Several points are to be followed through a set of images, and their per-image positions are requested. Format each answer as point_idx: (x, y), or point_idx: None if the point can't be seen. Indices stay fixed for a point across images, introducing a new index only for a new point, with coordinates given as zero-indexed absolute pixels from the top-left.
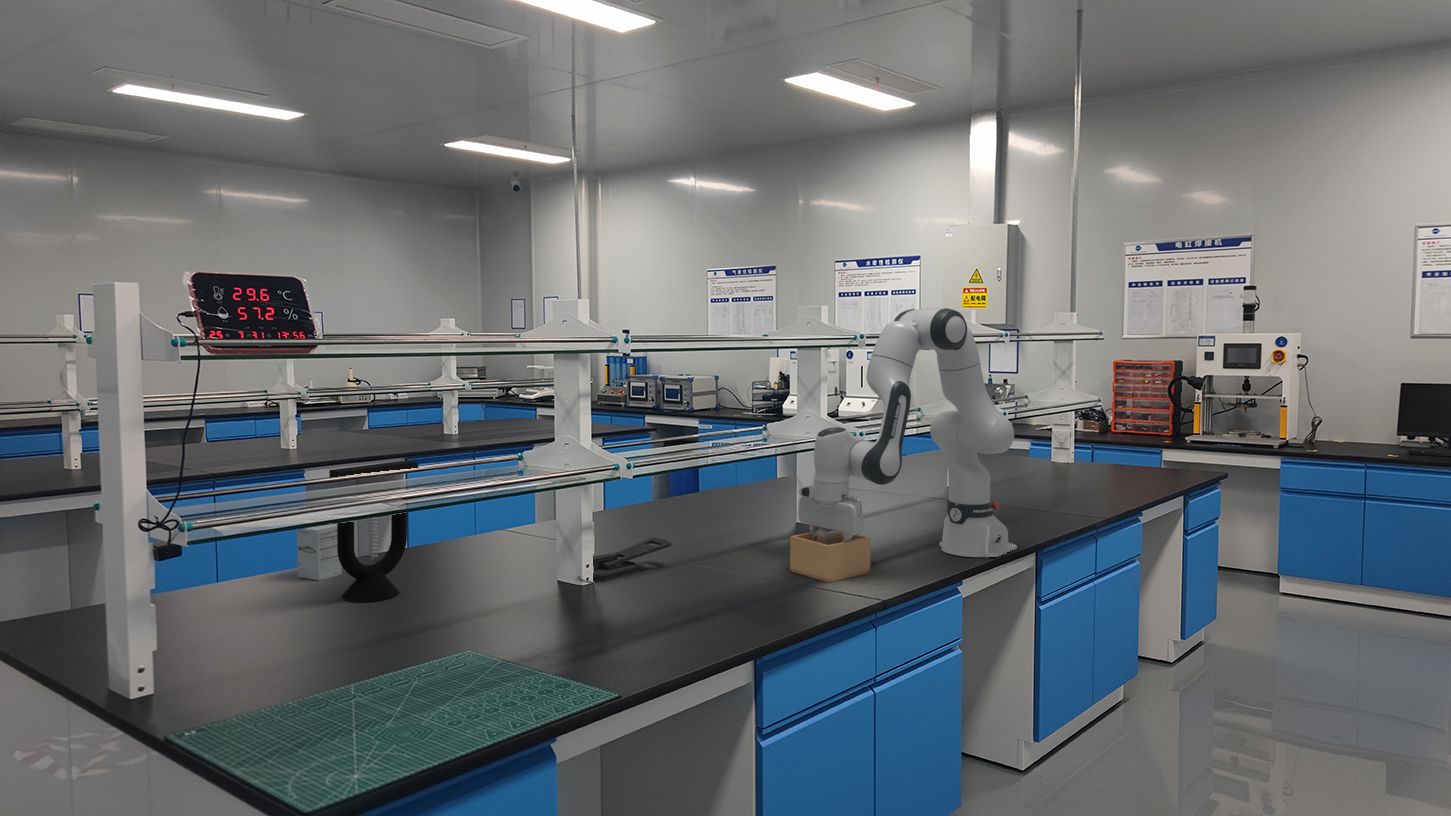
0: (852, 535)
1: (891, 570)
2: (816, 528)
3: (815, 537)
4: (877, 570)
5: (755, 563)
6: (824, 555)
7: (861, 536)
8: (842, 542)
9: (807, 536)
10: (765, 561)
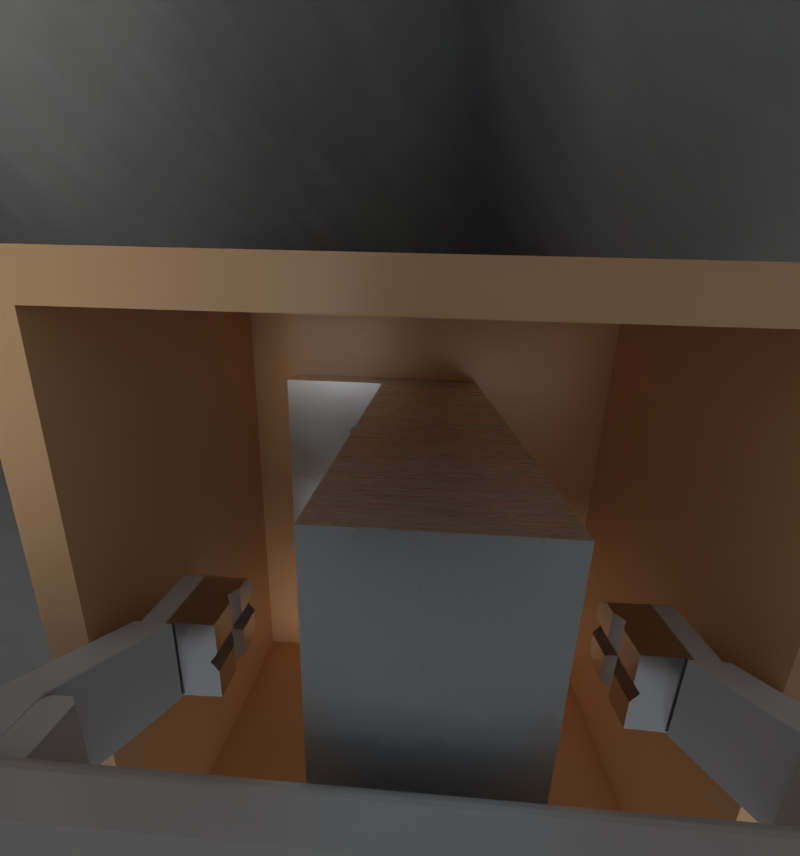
0: (530, 319)
1: (732, 76)
2: (83, 750)
3: (205, 685)
4: (637, 185)
5: (37, 652)
6: None
7: (779, 323)
8: (746, 813)
9: (139, 738)
10: (21, 591)
